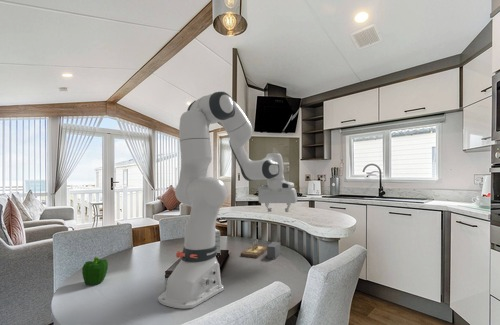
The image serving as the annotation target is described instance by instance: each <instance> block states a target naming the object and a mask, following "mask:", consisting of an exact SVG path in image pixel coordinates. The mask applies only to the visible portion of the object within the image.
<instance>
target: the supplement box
mask: <svg viewBox="0 0 500 325" xmlns="http://www.w3.org/2000/svg"><path fill="white" fill-rule="evenodd" d="M215 244H216V245H217V253H220V254H221V231H220V230H219V229H217V228H215Z"/></svg>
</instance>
